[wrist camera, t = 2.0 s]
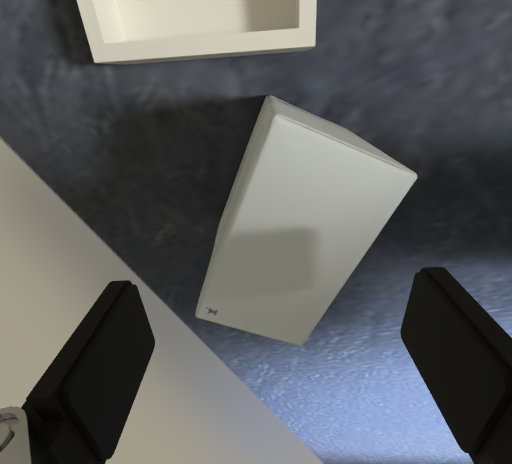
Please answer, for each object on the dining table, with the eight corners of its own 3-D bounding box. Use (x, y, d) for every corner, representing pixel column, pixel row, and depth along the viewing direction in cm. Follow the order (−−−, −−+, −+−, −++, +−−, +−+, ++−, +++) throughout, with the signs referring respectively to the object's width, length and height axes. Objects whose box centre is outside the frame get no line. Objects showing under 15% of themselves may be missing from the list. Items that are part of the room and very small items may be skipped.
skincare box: (290, 248, 24) (303, 352, 15) (219, 223, 24) (187, 318, 14) (353, 129, 20) (428, 177, 10) (266, 91, 19) (265, 108, 10)
